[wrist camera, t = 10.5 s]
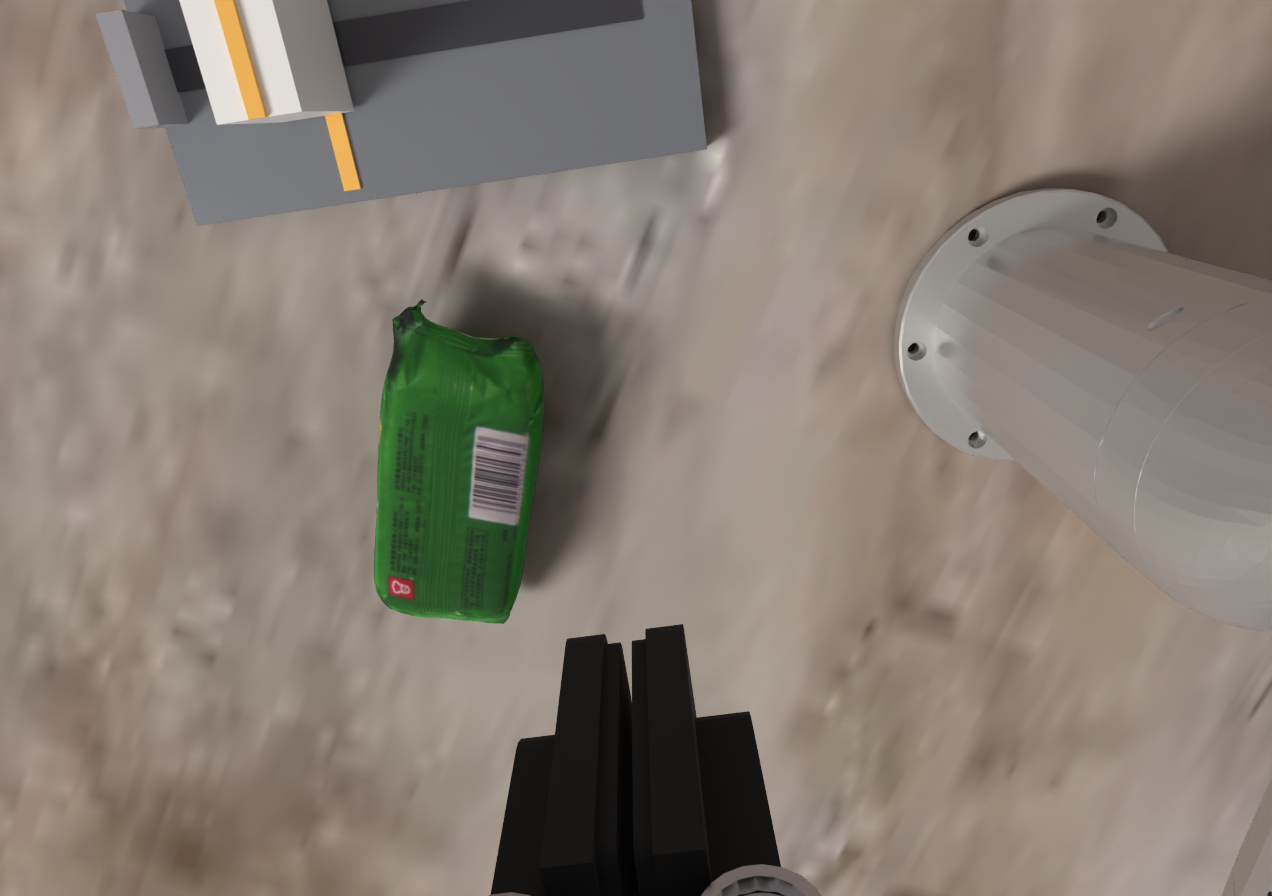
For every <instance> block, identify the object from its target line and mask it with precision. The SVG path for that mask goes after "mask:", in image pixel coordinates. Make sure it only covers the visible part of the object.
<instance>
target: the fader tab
mask: <svg viewBox="0 0 1272 896" xmlns="http://www.w3.org/2000/svg"><path fill="white" fill-rule="evenodd" d="M179 1H180V4H181V8H182V11H183V14H184V18H185V21H186V24H187V28H188V31H189V34H190V38H191V41H192V44H193V48H194V51H195V54H196V57H197V61H198V64H199V67H200V71H201V74H202V77H203V81H204V84H205V87H206V91H207V94H208V97H209V100H210V104H211V107H212V110H213V114H214V117H215V120H216V124H217V125H226V124H252V123H278V122H288V121H294V120H301V119H307V118H313V117H320V116H326V115H333V114H339V113H346V112H352V111H354V108H353V104H352V100H351V96H350V92H349V88H348V84H347V80H346V76H345V71H344V67H343V63H342V59H341V55H340V51H339V47H338V43H337V39H336V35H335V31H334V27H333V23H332V18H331V14H330V10H329V6H328V2H327V0H179Z"/></svg>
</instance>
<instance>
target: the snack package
mask: <svg viewBox="0 0 1272 896" xmlns="http://www.w3.org/2000/svg"><path fill="white" fill-rule="evenodd" d="M425 302H426V301H423V300H422V299H421V300H420V302H419V303H418V304H417V305H416V306H415V307H408V308H407V309H405V310H404V311H403V312H402V313H401V314H400V315H399V316H397V317H395V318H394V319H393V333H394V350H393V355H392V359H391V362H390V366H389V369H388V371H387V375H386V379H385V383H384V388H383V394H382V401H381V412H380V430H379V442H378V496H377V522H376V539H375V560H374V582H375V587H376V590H377V593H378V595H379V597H380V598H381V600H382V601H383V602H384V603H385V604H386V605H387V606H388V607H389V608H390V609H393V610H395V611H398V612H400V613H404V614H408V615H412V616H417V617H427V618H447V619H458V620H467V621H479V622H486V623H503V624H504V623H505V622H506V621H507V619H508V618H509V615H510V611H511V609H512V607H513V604H514V602H515V600H516V597H517V594H518V591H519V588H520V584H521V579H522V573H523V568H524V562H525V553H526V545H527V534H528V526H529V520H530V514H531V508H532V502H533V496H534V490H535V484H536V477H537V471H538V465H539V459H540V450H541V441H542V431H543V419H544V386H543V379H542V373H541V369H540V365H539V361H538V358H537V355H536V353H535V351H534V350H533V348H532V346H531V345H530V343H529V342H528V341H526V340H525V339H523V338H521V337H518V336H507V337H502V338H480V337H472V336H469V335H467V334H464V333H462V332H459V331H456V330H452V329H449V328H446V327H443V326H440V325H437V324H435V323H433V322H431V321H429V320H427V319H426V318H425V317H424V315H423V314H422V313H421V306H422V305H423V304H424V303H425Z"/></svg>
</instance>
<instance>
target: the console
mask: <svg viewBox="0 0 1272 896" xmlns="http://www.w3.org/2000/svg"><path fill="white" fill-rule="evenodd" d="M124 2H125V5H126V8H127V11H125V10H118V11H112V12H105V13H99V14H96V17H97V20H98V23H99V26H100V29H101V32H102V35H103V38H104V41H105V44H106V47H107V50H108V53H109V56H110V59H111V62H112V65H113V68H114V71H115V74H116V77H117V80H118V83H119V86H120V89H121V92H122V95H123V98H124V101H125V104H126V107H127V110H128V113H129V116H130V119H131V122H132V125H133V127H134V129H140V128H166V132H167V135H168V138H169V141H170V144H171V147H172V150H173V153H174V156H175V159H176V162H177V166H178V169H179V172H180V175H181V178H182V181H183V184H184V187H185V190H186V193H187V197H188V200H189V203H190V206H191V209H192V212H193V215H194V218H195V221H196V224H197V226H201V225H208V224H214V223H221V222H227V221H234V220H241V219H247V218H254V217H261V216H267V215H274V214H281V213H287V212H294V211H300V210H307V209H314V208H320V207H327V206H334V205H340V204H347V203H354V202H360V201H367V200H373V199H380V198H387V197H393V196H400V195H407V194H413V193H420V192H426V191H433V190H440V189H446V188H453V187H460V186H466V185H473V184H480V183H486V182H493V181H499V180H506V179H513V178H519V177H526V176H533V175H539V174H546V173H553V172H559V171H566V170H572V169H579V168H586V167H592V166H599V165H606V164H612V163H619V162H626V161H632V160H639V159H645V158H652V157H659V156H665V155H672V154H679V153H685V152H692V151H698V150H705V149H707V144H706V135H705V125H704V116H703V106H702V97H701V88H700V78H699V69H698V59H697V50H696V40H695V31H694V22H693V12H692V3H691V0H327V2H328V6H329V10H330V14H331V18H332V23H333V27H334V31H335V35H336V39H337V43H338V47H339V51H340V55H341V59H342V63H343V67H344V71H345V76H346V80H347V84H348V88H349V92H350V96H351V100H352V104H353V108H354V111H352V112H346V113H339V114H333V115H326V116H320V117H313V118H307V119H301V120H294V121H288V122H278V123H252V124H226V125H217V124H216V120H215V117H214V114H213V110H212V107H211V104H210V100H209V97H208V94H207V91H206V87H205V84H204V81H203V77H202V74H201V71H200V67H199V64H198V61H197V57H196V54H195V51H194V48H193V44H192V41H191V38H190V34H189V31H188V28H187V24H186V21H185V18H184V14H183V11H182V8H181V4H180V1H179V0H124Z"/></svg>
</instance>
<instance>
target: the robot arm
mask: <svg viewBox="0 0 1272 896" xmlns="http://www.w3.org/2000/svg"><path fill="white" fill-rule="evenodd" d="M1100 212H1101V218H1100V219H1099V220H1098V221H1096V219H1097V216H1098V214H1099V213H1100ZM972 229H975V231H976V235H975V237H974V238H973V239H971V240H969V239H968V236H969V233H970V231H971V230H972ZM912 343H916V347H915V349H914V350H912V351H908V347H909V346H910V345H911V344H912ZM894 358H895V363H896V368H897V374H898V379H899V381H900V383H901V386H902V388H903V391H904V393H905V395H906V398H907V400H908V401H909V403H910V404H911V406H912V407H913V409H914V410H915V411H916V413H917V414H918V416H919V417H920V419H921V420H922V421H923V422H924V423H926V424H927V425H928V427H929V428H930V429H931V430H932V431H933V432H934V433H935V434H937V435H938V436H940V437H941V438H942V439H944V440H945V441H946V442H948V443H949V444H950V445H952V446H954V447H956V448H958V449H960V450H962V451H964V452H966V453H968V454H971V455H973V456H978V457H982V458H986V459H991V460H995V461H1009V462H1018V463H1019V464H1020V465H1021V466H1022V467H1023V468H1024V469H1026V470H1027V471H1028V472H1029V473H1030V474H1031V475H1032V476H1033V477H1034V478H1035V479H1037V480H1038V481H1039V482H1040V483H1041V484H1042V485H1043V486H1044V487H1045V488H1046V489H1048V490H1049V491H1050V492H1051V493H1052V494H1053V495H1054V496H1055V497H1056V498H1058V499H1059V500H1060V501H1061V502H1062V503H1063V504H1064V505H1065V506H1066V507H1067V508H1069V509H1070V510H1071V511H1072V512H1073V513H1074V514H1075V515H1076V516H1077V517H1078V518H1080V519H1081V520H1082V521H1083V522H1084V523H1085V524H1086V525H1087V526H1088V527H1089V528H1091V529H1092V530H1093V531H1094V532H1095V533H1096V534H1097V535H1098V536H1099V537H1100V538H1102V539H1103V540H1104V541H1105V542H1106V543H1107V544H1108V545H1109V546H1110V547H1111V548H1113V549H1114V550H1115V551H1116V552H1117V553H1118V554H1119V555H1120V556H1121V557H1122V558H1124V559H1125V560H1126V561H1127V562H1129V563H1130V564H1131V565H1132V566H1133V567H1134V568H1135V569H1137V570H1138V571H1139V572H1140V573H1141V574H1142V575H1143V576H1144V577H1146V578H1147V579H1148V580H1149V581H1150V582H1151V583H1152V584H1153V585H1155V586H1156V587H1157V588H1159V589H1160V590H1161V591H1163V592H1164V593H1165V594H1167V595H1168V596H1169V597H1171V598H1172V599H1174V600H1175V601H1177V602H1178V603H1180V604H1182V605H1184V606H1185V607H1187V608H1189V609H1191V610H1193V611H1195V612H1197V613H1199V614H1201V615H1203V616H1206V617H1209V618H1211V619H1214V620H1217V621H1220V622H1223V623H1226V624H1229V625H1233V626H1236V627H1240V628H1245V629H1250V630H1256V631H1265V632H1272V280H1268V279H1265V278H1261V277H1257V276H1255V275H1253V274H1252V273H1247V274H1246V273H1242V272H1238V271H1235V270H1231V269H1227V268H1223V267H1220V266H1216V265H1212V264H1208V263H1205V262H1201V261H1197V260H1193V259H1190V258H1186V257H1182V256H1178V255H1175V254H1171V253H1169V252H1168V250H1167V248H1166V247H1165V245H1164V243H1163V241H1162V239H1161V237H1160V236H1159V235H1158V233H1157V232H1156V231H1155V230H1154V229H1153V228H1152V227H1151V226H1150V225H1149V224H1148V222H1147V221H1146V220H1145V219H1144V218H1143V217H1142V216H1140V215H1139V214H1137V213H1136V212H1134V211H1133V210H1131V209H1130V208H1128V207H1127V206H1126V205H1124V204H1123V203H1120V202H1118V201H1115V200H1113V199H1110V198H1108V197H1105V196H1102V195H1100V194H1097V193H1092V192H1087V191H1082V190H1077V189H1062V188H1043V189H1036V190H1030V191H1023V192H1018V193H1016V194H1013V195H1010V196H1007V197H1004V198H1001V199H998V200H995V201H992V202H991V203H989V204H987V205H985V206H983V207H982V208H980V209H978V210H976V211H974V212H972V213H971V214H969V215H967V216H966V217H965V218H963V219H962V220H961V221H960V222H958V223H957V224H956V225H955V226H953V227H952V228H951V229H950V230H948V231H947V232H946V233H945V234H944V235H943V236H942V237H941V238H940V239H939V240H938V241H937V242H936V244H935V245H934V246H933V247H932V248H931V249H930V250H929V251H928V252H927V254H926V255H925V256H924V258H923V259H922V261H921V262H920V264H919V266H918V267H917V269H916V270H915V272H914V274H913V275H912V277H911V278H910V280H909V283H908V285H907V288H906V290H905V293H904V295H903V298H902V300H901V302H900V306H899V310H898V315H897V320H896V324H895V329H894ZM973 432H975V434H974V435H973V436H972V437H970V438H969V436H970V435H971V434H972V433H973ZM489 896H821V894H820V893H819V891H818V890H817V888H816V887H814V886H813V885H812V884H811V883H810V882H808V881H807V880H806V879H805V878H804V877H802V876H801V875H799V874H797V873H794V872H792V871H790V870H788V869H785V868H783V867H781V864H780V859H779V855H778V850H777V845H776V840H775V835H774V830H773V825H772V820H771V815H770V810H769V805H768V800H767V795H766V790H765V785H764V780H763V775H762V770H761V765H760V760H759V755H758V750H757V745H756V740H755V735H754V730H753V725H752V720H751V716H750V712H741V713H732V714H724V715H716V716H707V717H699V718H696V711H695V704H694V697H693V690H692V683H691V676H690V669H689V662H688V655H687V648H686V641H685V634H684V627H683V624H681V625H673V626H665V627H657V628H649V629H646V639H644V640H636V641H632V700H631V695H630V689H629V683H628V678H627V672H626V666H625V660H624V655H623V649H622V645H621V643H612V644H608V642H607V638H606V636H605V634H601V635H593V636H585V637H578V638H570V639H567V641H566V646H565V655H564V663H563V672H562V680H561V689H560V697H559V706H558V714H557V723H556V731H555V735H549V736H541V737H533V738H525V739H521V740H520V741H519V742H518V745H517V749H516V754H515V759H514V765H513V771H512V776H511V782H510V788H509V794H508V799H507V805H506V811H505V816H504V822H503V828H502V833H501V839H500V845H499V850H498V856H497V862H496V867H495V873H494V879H493V884H492V890H491V895H489ZM1222 896H1272V778H1271V780H1270V783H1269V785H1268V787H1267V789H1266V792H1265V794H1264V796H1263V798H1262V801H1261V803H1260V805H1259V807H1258V810H1257V812H1256V814H1255V816H1254V819H1253V821H1252V823H1251V825H1250V828H1249V830H1248V832H1247V834H1246V837H1245V839H1244V841H1243V843H1242V846H1241V848H1240V851H1239V854H1238V857H1237V859H1236V861H1235V864H1234V866H1233V868H1232V871H1231V873H1230V876H1229V878H1228V880H1227V883H1226V886H1225V888H1224V891H1223V894H1222Z"/></svg>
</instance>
